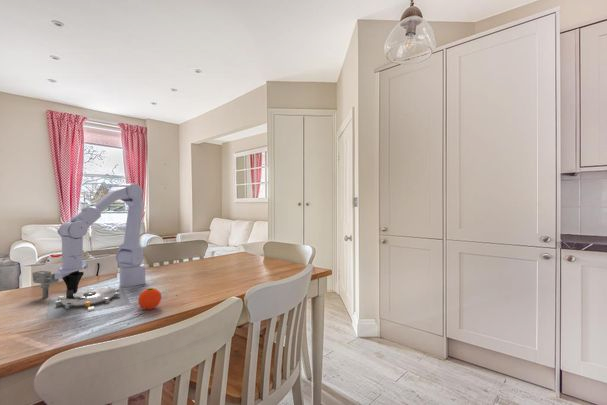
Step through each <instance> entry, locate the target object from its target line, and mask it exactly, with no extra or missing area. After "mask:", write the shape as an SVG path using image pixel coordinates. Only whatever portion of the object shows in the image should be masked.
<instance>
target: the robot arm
mask: <svg viewBox="0 0 607 405" xmlns="http://www.w3.org/2000/svg"><path fill="white" fill-rule="evenodd" d="M143 194H144V189H143V188H142V187H141V186H140V185H139V184H138V183H134V182H133V183H116V184H114V186H112V187H110V189H109V191H108V192H107V193H105V195H103V196H102V197H101V198H100V199H99V200H98V201H97V202H96V203H95V204H94V205H93V206H85V207H82V208H81V209H80V210H81V211H80V212H78V213H77V214H76V215H75V216H72V217H70V220H69V221H65V222H62V223H61V224H60V226H59V229H57V234H58V235H59V236H60V237H61V267H59V268H58V271H57V272H54V273H55V279H59V280H60V279H61V280H63V282H64V284H65V286H66V290H67V289H74V294H75V293H77V291H79V288H78V287H79V283H80V281H81V279H82V277H83V276H84V271H82V270H84V269H88V266H89V264H88V262H84V261H83V260H84V258H83V256H84V251H83V247H84V246H83V245H84V241H83V239H84V236H86V235H87V233H88V229H89V227H91V226H92V225H93V224H95V222H97V221H99V219H100V218H101V217H102V212H104V211H105V210H106V209H108V208H109V207H110V206H111V205H112V204H115V202H116V201H118V200H119V201H122V202H124V203H125V204H126V205H127V206H128V208H127V217H126V223H125V232H124V238H123V243H122V244H121V245H119V247H118V251H117V253H116V255H115V261H116V262H117V264H118V266H119V287H122V288H124V287H125V288H126V287H128V288H129V287H133V286H134V287H135V286H139V285H144V284H146V265H145V264H144V263H143V264H142V262H144V257H145V255H144V251H143V250H144V247H142V245H141V244H140V243H139V242H140V236H141V228H142V220H143V211H144V206H145V205H144V204H145V201H144V198H143Z"/></svg>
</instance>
